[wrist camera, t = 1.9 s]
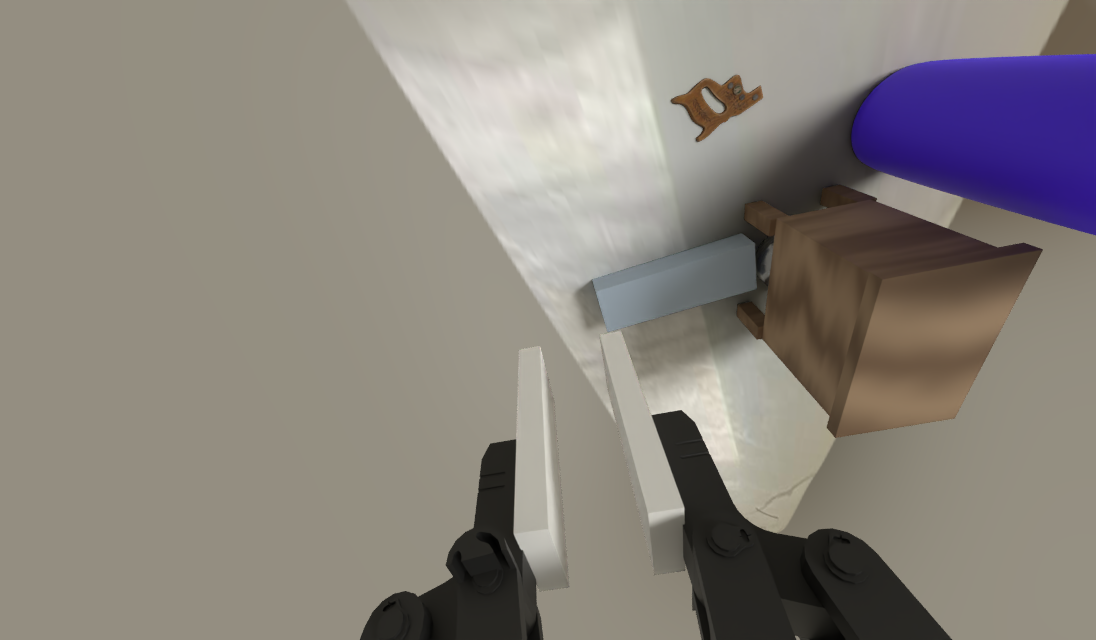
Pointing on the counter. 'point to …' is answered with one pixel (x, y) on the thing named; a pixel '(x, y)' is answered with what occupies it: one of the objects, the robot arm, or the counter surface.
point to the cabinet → (881, 308)
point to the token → (764, 259)
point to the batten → (677, 282)
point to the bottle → (991, 133)
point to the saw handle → (727, 94)
